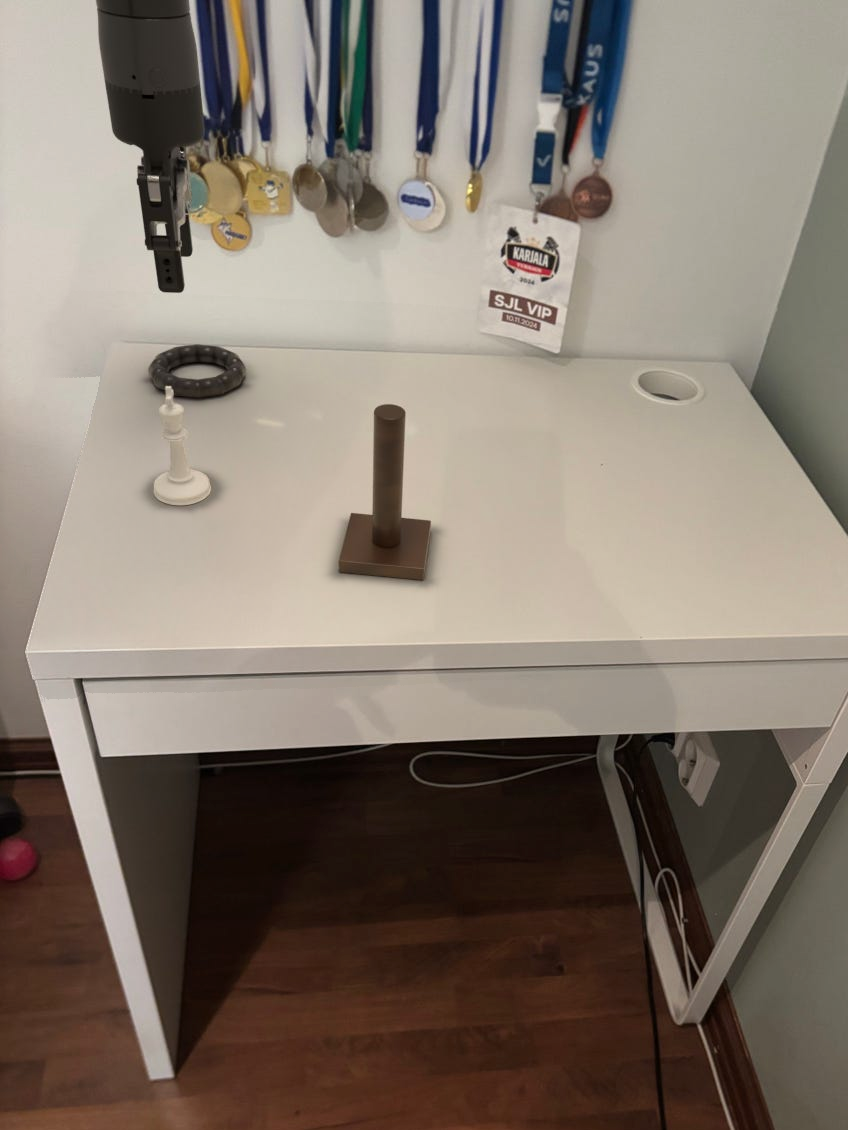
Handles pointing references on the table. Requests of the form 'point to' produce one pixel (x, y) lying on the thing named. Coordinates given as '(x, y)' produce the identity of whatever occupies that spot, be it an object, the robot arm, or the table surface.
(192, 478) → the chess piece
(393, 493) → the peg stand
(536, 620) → the table surface
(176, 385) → the ring
